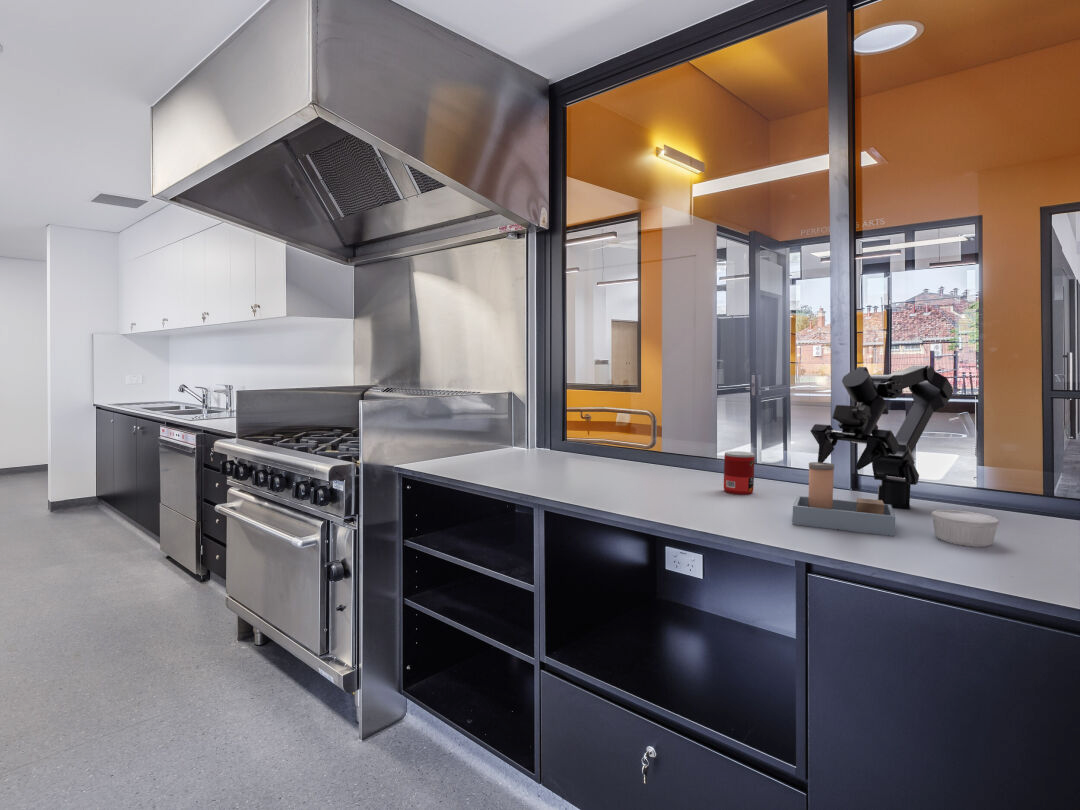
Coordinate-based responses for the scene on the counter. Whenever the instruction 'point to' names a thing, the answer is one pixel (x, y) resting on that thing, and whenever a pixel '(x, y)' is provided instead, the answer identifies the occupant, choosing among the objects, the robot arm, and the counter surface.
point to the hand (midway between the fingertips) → (837, 465)
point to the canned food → (738, 472)
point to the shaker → (821, 485)
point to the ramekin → (964, 527)
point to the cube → (870, 506)
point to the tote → (844, 517)
